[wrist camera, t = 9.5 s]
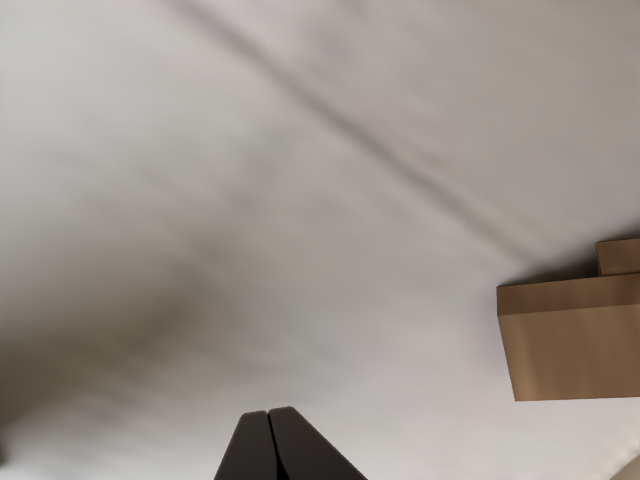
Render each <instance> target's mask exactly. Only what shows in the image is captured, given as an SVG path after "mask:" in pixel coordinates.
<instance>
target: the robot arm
mask: <svg viewBox="0 0 640 480" xmlns="http://www.w3.org/2000/svg"><path fill="white" fill-rule="evenodd" d="M214 480H368V479H367V478H366V477H365V476H364V475H363V474H362V473H361V472H360V471H358V470H357V469H356V468H355V467H354V466H353V465H352V464H351V463H350V462H349V461H348V460H347V459H346V458H345V457H344V456H343V455H342V454H341V453H340V452H339V451H338V450H337V449H336V448H335V447H334V446H333V445H332V444H331V443H330V442H329V441H328V440H327V439H326V438H324V437H323V436H322V435H321V434H320V433H319V432H318V431H317V430H316V429H315V428H314V427H313V426H312V425H311V424H310V423H309V422H308V421H307V420H306V419H305V418H304V417H303V416H302V415H301V414H300V413H299V412H298V411H297V410H296V409H295V408H293V407H291V406H288V407H282V408H275V409H271V410H269V412H268V414H267V412H266V411H263V410H262V411H256V412H250V413H244V414H243V415H242V416H241V418H240V420H239V422H238V424H237V427H236V429H235V431H234V434H233V436H232V438H231V441H230V443H229V445H228V448H227V450H226V452H225V454H224V457H223V459H222V461H221V464H220V466H219V468H218V471H217V473H216V475H215V478H214Z"/></svg>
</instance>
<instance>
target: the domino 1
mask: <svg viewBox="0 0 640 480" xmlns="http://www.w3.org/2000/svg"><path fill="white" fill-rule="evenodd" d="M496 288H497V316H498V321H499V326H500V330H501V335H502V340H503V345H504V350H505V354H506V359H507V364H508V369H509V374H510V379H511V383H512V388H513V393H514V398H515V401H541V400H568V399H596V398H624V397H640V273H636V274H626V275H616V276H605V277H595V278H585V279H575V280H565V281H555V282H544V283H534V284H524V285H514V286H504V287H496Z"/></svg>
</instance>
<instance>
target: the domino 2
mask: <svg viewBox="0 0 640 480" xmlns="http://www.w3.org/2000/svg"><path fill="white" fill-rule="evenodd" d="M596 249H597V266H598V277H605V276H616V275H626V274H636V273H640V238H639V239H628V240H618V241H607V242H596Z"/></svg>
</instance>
